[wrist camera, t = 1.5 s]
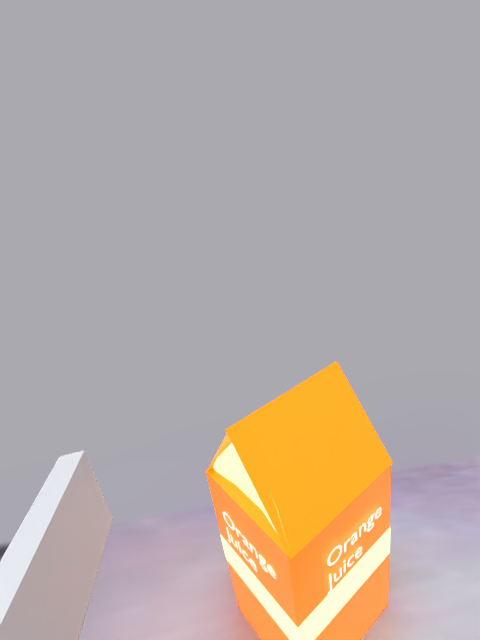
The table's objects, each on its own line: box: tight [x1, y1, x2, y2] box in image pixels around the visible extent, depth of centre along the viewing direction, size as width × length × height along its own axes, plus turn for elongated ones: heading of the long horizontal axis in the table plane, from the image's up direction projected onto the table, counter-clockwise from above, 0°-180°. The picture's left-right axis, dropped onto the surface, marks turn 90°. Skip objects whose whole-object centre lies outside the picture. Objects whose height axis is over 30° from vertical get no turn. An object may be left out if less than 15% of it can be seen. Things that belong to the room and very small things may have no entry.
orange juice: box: [206, 361, 392, 640], centre depth 25 cm, size 8×9×20 cm
